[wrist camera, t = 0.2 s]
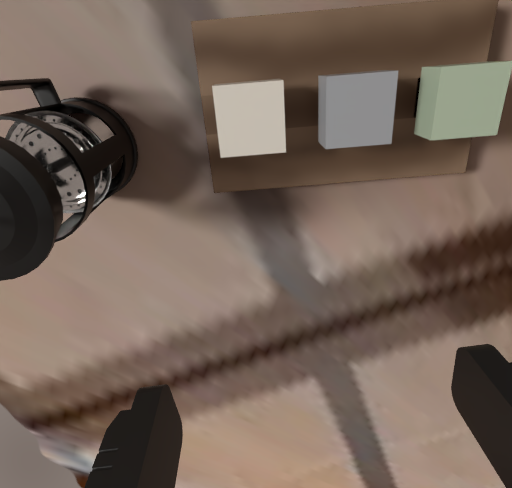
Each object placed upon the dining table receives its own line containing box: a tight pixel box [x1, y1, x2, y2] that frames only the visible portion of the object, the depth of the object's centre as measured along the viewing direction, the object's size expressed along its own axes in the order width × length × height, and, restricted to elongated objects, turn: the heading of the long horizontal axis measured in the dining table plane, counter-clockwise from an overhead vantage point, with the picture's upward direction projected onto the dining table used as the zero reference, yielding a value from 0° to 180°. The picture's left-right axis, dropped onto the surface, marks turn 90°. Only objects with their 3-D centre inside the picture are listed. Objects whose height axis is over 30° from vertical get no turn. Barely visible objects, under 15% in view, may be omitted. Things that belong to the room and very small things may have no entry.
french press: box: [0, 78, 138, 281], centre depth 24 cm, size 12×9×23 cm
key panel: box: [191, 0, 499, 193], centre depth 32 cm, size 14×24×3 cm, turn 94°
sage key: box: [414, 61, 512, 140], centre depth 28 cm, size 5×5×6 cm
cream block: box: [212, 79, 286, 158], centre depth 28 cm, size 5×5×6 cm
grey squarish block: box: [318, 70, 398, 149], centre depth 28 cm, size 5×5×6 cm
